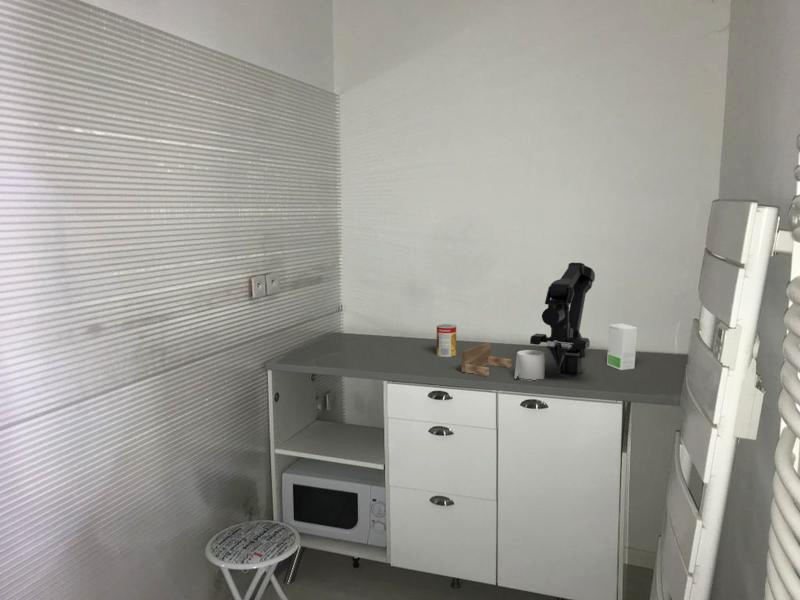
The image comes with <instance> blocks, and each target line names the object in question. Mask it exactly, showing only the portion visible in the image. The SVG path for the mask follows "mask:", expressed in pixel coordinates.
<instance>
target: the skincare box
mask: <svg viewBox="0 0 800 600" xmlns="http://www.w3.org/2000/svg"><path fill="white" fill-rule="evenodd" d="M637 338H638V327H636V326H634V325H630V324H626V323H622V322H621V323H613V324H609V328H608V342H607V360H606V365H607V366H609V367H611V368H614V369H617V370H619V371H626V370H633V369H635V366H636V354H637V353H636V352H637Z"/></svg>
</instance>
